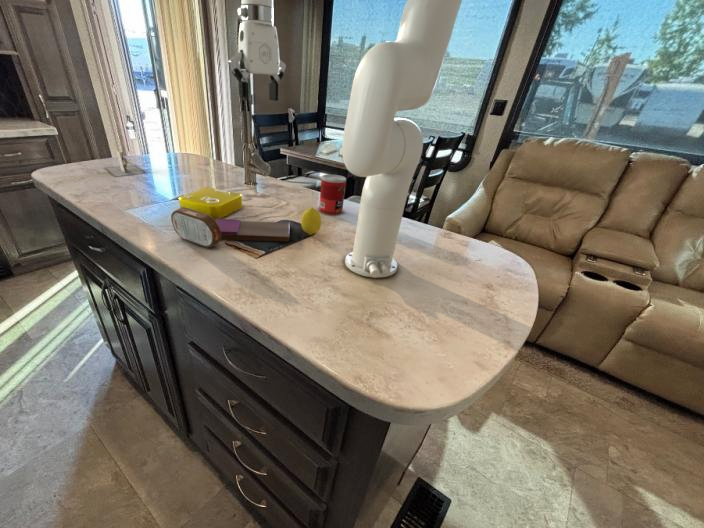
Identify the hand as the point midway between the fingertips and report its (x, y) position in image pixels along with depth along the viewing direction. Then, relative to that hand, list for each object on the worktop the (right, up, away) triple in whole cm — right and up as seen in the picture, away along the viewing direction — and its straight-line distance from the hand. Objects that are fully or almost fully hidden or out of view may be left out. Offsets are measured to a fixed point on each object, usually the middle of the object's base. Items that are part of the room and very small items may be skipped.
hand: (259, 100), depth 89 cm
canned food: (+21, -24, +22) cm, 39 cm away
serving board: (-3, -36, +3) cm, 36 cm away
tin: (-16, -40, -3) cm, 43 cm away
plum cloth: (-9, -34, +2) cm, 35 cm away
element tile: (-18, -25, +17) cm, 35 cm away
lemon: (+14, -36, +4) cm, 39 cm away
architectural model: (-64, 0, +50) cm, 81 cm away
